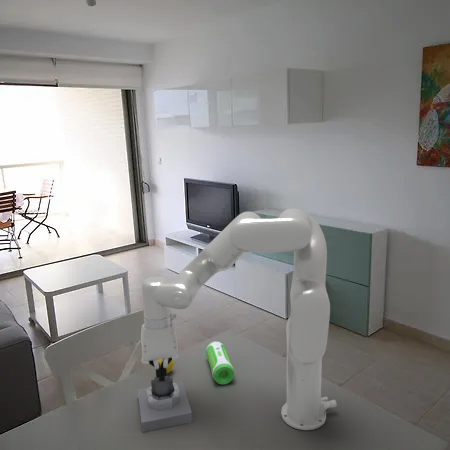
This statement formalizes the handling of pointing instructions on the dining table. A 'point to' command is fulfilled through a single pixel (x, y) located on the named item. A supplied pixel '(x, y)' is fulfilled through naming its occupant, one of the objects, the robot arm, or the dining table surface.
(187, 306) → the robot arm
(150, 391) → the octagonal blue-lined ring
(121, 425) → the dining table surface
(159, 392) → the dark grey domed knob
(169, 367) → the lemon
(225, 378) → the speaker
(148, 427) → the plate with octagonal ring
